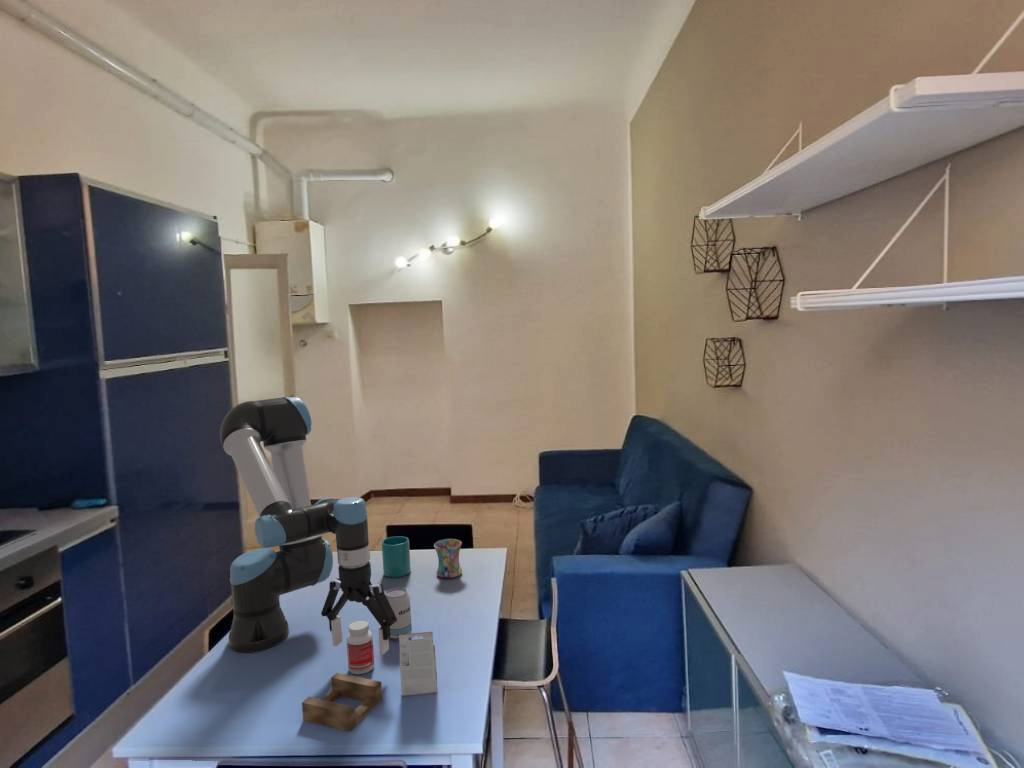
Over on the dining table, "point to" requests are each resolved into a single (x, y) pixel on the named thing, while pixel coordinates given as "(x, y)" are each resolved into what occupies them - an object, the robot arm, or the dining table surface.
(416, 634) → the ink box
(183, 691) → the dining table surface
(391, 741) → the dining table surface
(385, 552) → the cup
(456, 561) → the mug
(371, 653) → the pill bottle
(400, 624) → the beverage can
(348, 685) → the walnut holder
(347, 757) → the dining table surface
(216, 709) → the dining table surface
